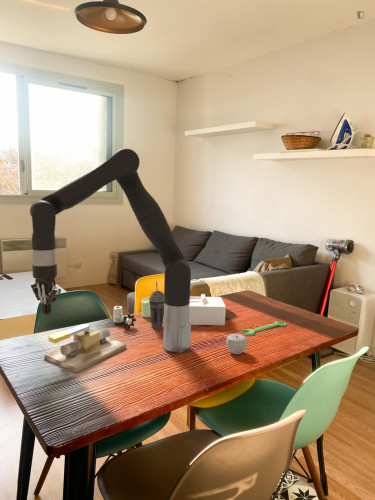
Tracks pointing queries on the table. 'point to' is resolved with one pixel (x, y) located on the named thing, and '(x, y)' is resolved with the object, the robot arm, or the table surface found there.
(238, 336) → the apple
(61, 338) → the valve lever
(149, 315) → the candle
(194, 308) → the tissue box
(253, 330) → the wrench
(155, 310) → the beverage cup
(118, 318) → the valve
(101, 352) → the pipe board
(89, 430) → the table surface
